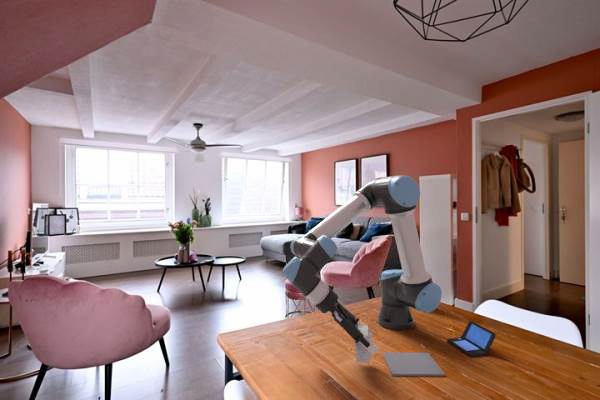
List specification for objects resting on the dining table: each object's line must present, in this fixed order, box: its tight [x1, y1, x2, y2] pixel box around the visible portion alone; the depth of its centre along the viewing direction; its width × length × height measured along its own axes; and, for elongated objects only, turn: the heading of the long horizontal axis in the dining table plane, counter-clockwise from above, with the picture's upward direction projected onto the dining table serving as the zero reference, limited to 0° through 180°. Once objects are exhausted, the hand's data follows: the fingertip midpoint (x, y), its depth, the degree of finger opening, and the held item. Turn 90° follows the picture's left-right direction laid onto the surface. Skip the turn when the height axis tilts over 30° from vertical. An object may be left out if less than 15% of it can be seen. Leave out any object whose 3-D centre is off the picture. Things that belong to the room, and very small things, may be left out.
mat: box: [382, 352, 446, 377], centre depth 100 cm, size 13×16×1 cm
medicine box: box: [354, 324, 371, 364], centre depth 99 cm, size 8×4×9 cm, turn 169°
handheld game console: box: [446, 320, 497, 358], centre depth 111 cm, size 12×11×7 cm
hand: (372, 344), depth 99 cm, fingers closed on medicine box, 8 cm apart
